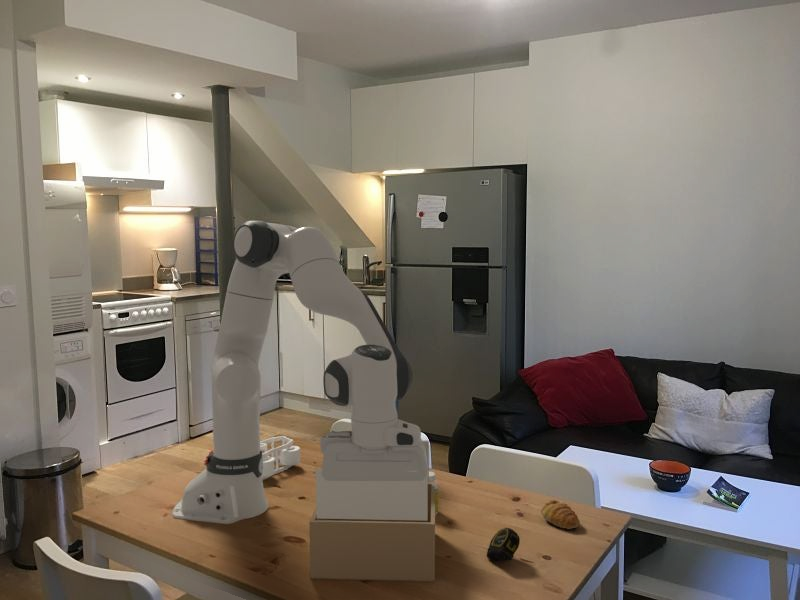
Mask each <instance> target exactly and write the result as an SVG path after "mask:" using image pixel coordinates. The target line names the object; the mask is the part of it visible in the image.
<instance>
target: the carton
mask: <svg viewBox="0 0 800 600" xmlns="http://www.w3.org/2000/svg"><path fill="white" fill-rule="evenodd" d="M308 523H309V525H308V526H309V529H308V530H309V566H310V567H309V576H310V578H309V579H312V580H313V579H315V580H345V581H348V580H349V581H351V580H352V581H378V580H385V582H387V581H388V582H414V581H420V582H423V583H428V582H427V581H431V582H430V583H435V581H436V577H435V576H436V571H435V570H436V515H435V482H428V521H422V520H371V519H319V518H317V506H315V508H314V510H313V513H312V515H311V518H310V520H309V522H308Z"/></svg>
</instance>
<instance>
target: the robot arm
mask: <svg viewBox="0 0 800 600" xmlns="http://www.w3.org/2000/svg"><path fill="white" fill-rule="evenodd" d="M233 236H234V237H233V242H232V248H233V252H234V253H233V254H234V256H235V258H236V259H235V261H234V264H233V267H232V270H231V273H230V276H229V280H228V284H227V288H226V293H225V299H224V304H223V309H222V314H221V315H222V316H221V320H220V325H219V328H218V329H219V331H218V334H217V337H216V343H215V347H214V352H213V355H212V356H213V357H212V361H211V366H210V373H211V374H210V375H211V396H212V397H211V399H212V400H211V402H212V440H213V441H212V443H213V444H212V445H213V446H212V447H213V449H211V450H210V451H209V453H208V454H207V456H206V457H205V460H204V461H203V462H204V463H203V466H206V468H205V469H204V470H203V471H201V472H200V473H199V474H197V475H196V476H195V477H193V479H191V481H189V483H187V485H186V487H185V488H184V490H183V493H182V499H181V500H180V501H179V502H178V503H177V504H176V505H175V506H174V507H173V509H172V513H171V514H172V515H171V516H172V517H173V518H174V519H178V520H179V519H180V520H189V521H197V522H204V523H207V522H208V523H216V524H224V525H229V524H234V523H236V522H239V521H242V520H246V519H251V518H254V517H257V516H260V515H262V514H263V513H265V512H266V511H267V510H268V509H269V503H268V500H267V498H266V497H267V496H266V493H265V489H264V480H262V472H263V457H262V454H263V450H262V451H261V450H260V441H261V432H260V431H261V427H260V417H261V389H262V388H261V384H262V383H261V382H262V381H261V372H260V369H259V362H260V357H261V353H262V350H263V346H264V342H265V338H266V335H267V333H268V327H269V323H270V317H271V312H272V309H273V303H274V302H273V301H274V296H275V291H276V290H275V289H276V284H277V281H278V279H279V278H280V277H281V276H282V275H285V274H286V275H287V277H289V278H290V281H291V284H292V287H293V290H294V293H295V294H296V297H297V299H298V300H299V302H300V303H301V305H303V307H304V308H305V309H308V310H310V311H311V312H314V313H316V314H320V315H324V316H329V317H333V318H336V319H340V320H343V321H345V322H347V323H350V324H351V325H352V326H354V327H355V328H356V329H357V330H358V332H359V333H360V335H361V337H362V339H363V341H364V343H365V344H363V345H359V346H356V347H355V348H354V349H353V350H352V352H351V353H350V354H349V355H346V356H343V357H340V358H336V359H333V360H331V361H330V362H329V364H328V365H327V366H326V368H325V370H324V373H323V379H322V381H323V391H324V395H325V397H326V398H328V400H329V401H331V403H333V404H334V405H336V406H339V407H350V408H351V415H350V427H351V428H350V429H351V430H348V431H347V430H342V431H335V430H329V431H327V433H324V434H323V435H322V436H321V437H320V441H319V444H320V445H319V446H320V448H319V449H320V450H321V453H322V455H323V456H322V461H321V463H322V464H321V468H322V476H323V477H324V479H325V480H328V481H422V480H424V478H425V477H426V476H427V470H428V468H427V457H426V451H425V446H424V444H423V442H422V441H421V440H422V439H421V438H422V431H421V428H420V426H419V425H417V424H415V423H410V422H407V421H404V420H402V419H399V414H398V415H397V410H396V406H395V402H396V400H398V401H400V400H402V399H403V398H404V397H405V396H406V395H407V394H408V393H409V391H410V389H411V387H412V385H413V381H414V372H413V367H412V365H411V363H410V361H409V360H408V358H407V357H406V356H405V354H404V352H403V353H402V351H401V350H400V348H399V347H398V346H397V344H396V343H395V341H394V338H393V337H392V336H391V333H390V331H389V330H388V328H387V327H386V324H385V323H384V321H383V319H382V318H381V316H380V314H379V312H378V311H377V308H376V307H375V305H374V303H373V302H372V300H371V299H370V297H369V296H368V295H367V293H366V292H365V291H364V290H362V289H361V288H359V287H358V286H356V285H355V284H354V283H353V282H352V281H351V279H350V278H349V277H348V276H347V274H345V271H344V270H343V268H342V266H341V263H340V260H339V258H338V256H337V254H336V251H335V249H334V248H333V246H332V244H331V242H330V241H329V239H328V237H327V236H326V234H325V233H324V232H323V231H322V230H321V229H319V228H318V227H314V226H303V227H300V228H298V227H295V226H292V225H288V224H280V223H274V222H265V221H264V220H247V221H244V222H243V223H242V224H241V225H240V226H239V227H238V228H237V230H236V232H235V233H234V235H233ZM409 471H417V472H409Z"/></svg>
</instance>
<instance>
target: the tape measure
mask: <svg viewBox="0 0 800 600" xmlns="http://www.w3.org/2000/svg"><path fill="white" fill-rule="evenodd" d="M520 540H521V539H520V536H519V535H518V533H517V532H516V531H515V530H514V529H512V528H510V527H504V528H502V529H499V530H498V531H497V532H496V533H495V534H494V535H493V536H492V538H491V540H490V543H489V545H488V549H487V553H486V558H487V559H488V560H490V561H493V562H503V561H506V562H507V561H508V562H509V561H512V560H513V558H514V557H515V553H516V552H517V551H518V548H519V546H520V542H521V541H520Z"/></svg>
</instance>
